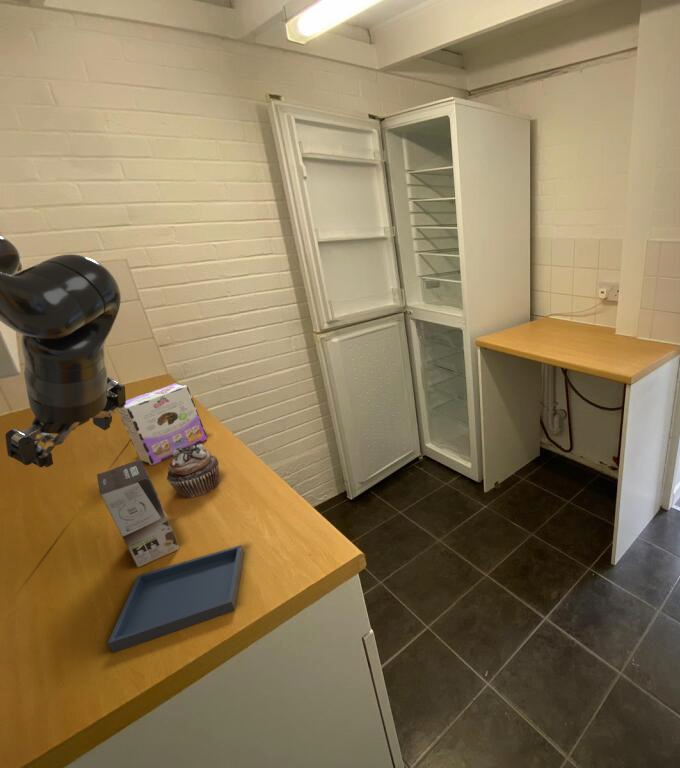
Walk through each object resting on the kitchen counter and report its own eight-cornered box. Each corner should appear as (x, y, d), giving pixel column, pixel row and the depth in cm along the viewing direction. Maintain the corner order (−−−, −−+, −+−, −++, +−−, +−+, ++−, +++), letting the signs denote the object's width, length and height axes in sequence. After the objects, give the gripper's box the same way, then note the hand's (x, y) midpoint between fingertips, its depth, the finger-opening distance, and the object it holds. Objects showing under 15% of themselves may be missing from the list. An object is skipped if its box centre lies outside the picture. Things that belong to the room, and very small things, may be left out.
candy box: (196, 435, 118) (175, 382, 111) (208, 439, 115) (188, 385, 109) (139, 461, 106) (113, 403, 100) (152, 466, 104) (126, 407, 97)
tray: (113, 652, 60) (107, 643, 59) (142, 584, 71) (137, 575, 70) (235, 610, 66) (231, 601, 65) (244, 553, 77) (241, 544, 76)
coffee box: (181, 548, 78) (148, 477, 72) (137, 568, 74) (98, 495, 68) (172, 525, 84) (142, 457, 78) (131, 542, 80) (95, 472, 74)
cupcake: (169, 489, 95) (152, 451, 91) (217, 469, 102) (204, 434, 98) (180, 506, 89) (163, 467, 85) (230, 484, 96) (217, 447, 92)
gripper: (95, 341, 61) (97, 403, 71) (-27, 397, 50) (-6, 462, 59) (144, 371, 63) (139, 428, 72) (35, 432, 51) (46, 490, 61)
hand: (73, 443), depth 66 cm, fingers open, 8 cm apart
